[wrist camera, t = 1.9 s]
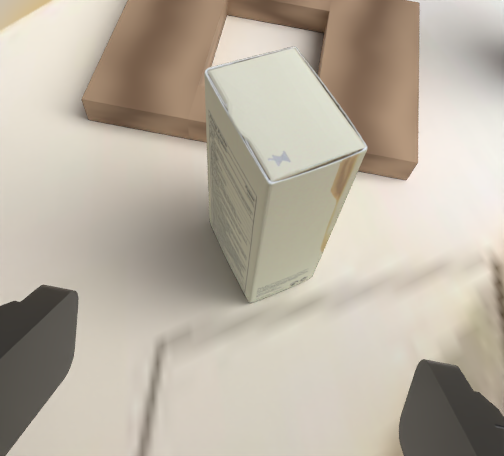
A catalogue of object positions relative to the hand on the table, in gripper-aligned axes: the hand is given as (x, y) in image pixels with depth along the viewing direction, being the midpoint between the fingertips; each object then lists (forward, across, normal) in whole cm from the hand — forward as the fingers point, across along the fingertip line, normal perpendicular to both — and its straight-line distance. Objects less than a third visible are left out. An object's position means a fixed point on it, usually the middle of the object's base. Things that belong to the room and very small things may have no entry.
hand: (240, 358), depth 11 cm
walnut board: (+28, +2, -7) cm, 29 cm away
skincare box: (+18, 0, +3) cm, 18 cm away
